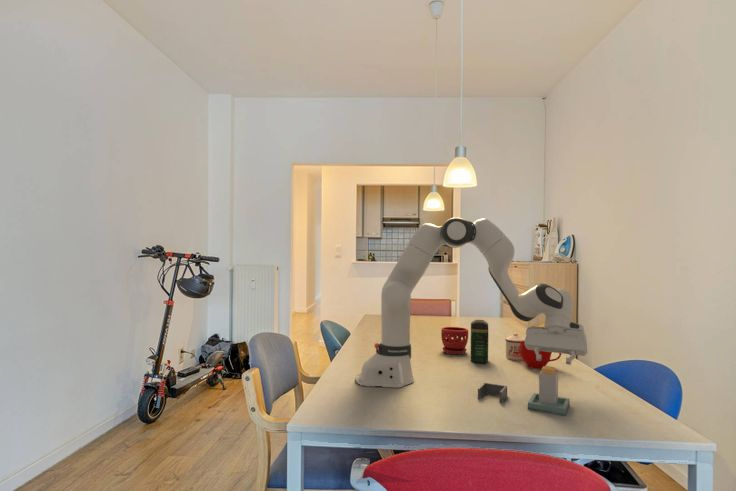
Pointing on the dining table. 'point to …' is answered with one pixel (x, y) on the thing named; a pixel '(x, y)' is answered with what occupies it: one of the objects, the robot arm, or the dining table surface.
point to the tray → (559, 410)
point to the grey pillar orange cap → (548, 386)
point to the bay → (493, 390)
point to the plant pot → (454, 340)
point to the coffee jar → (479, 341)
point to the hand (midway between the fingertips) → (553, 361)
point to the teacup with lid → (513, 347)
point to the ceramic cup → (530, 357)
